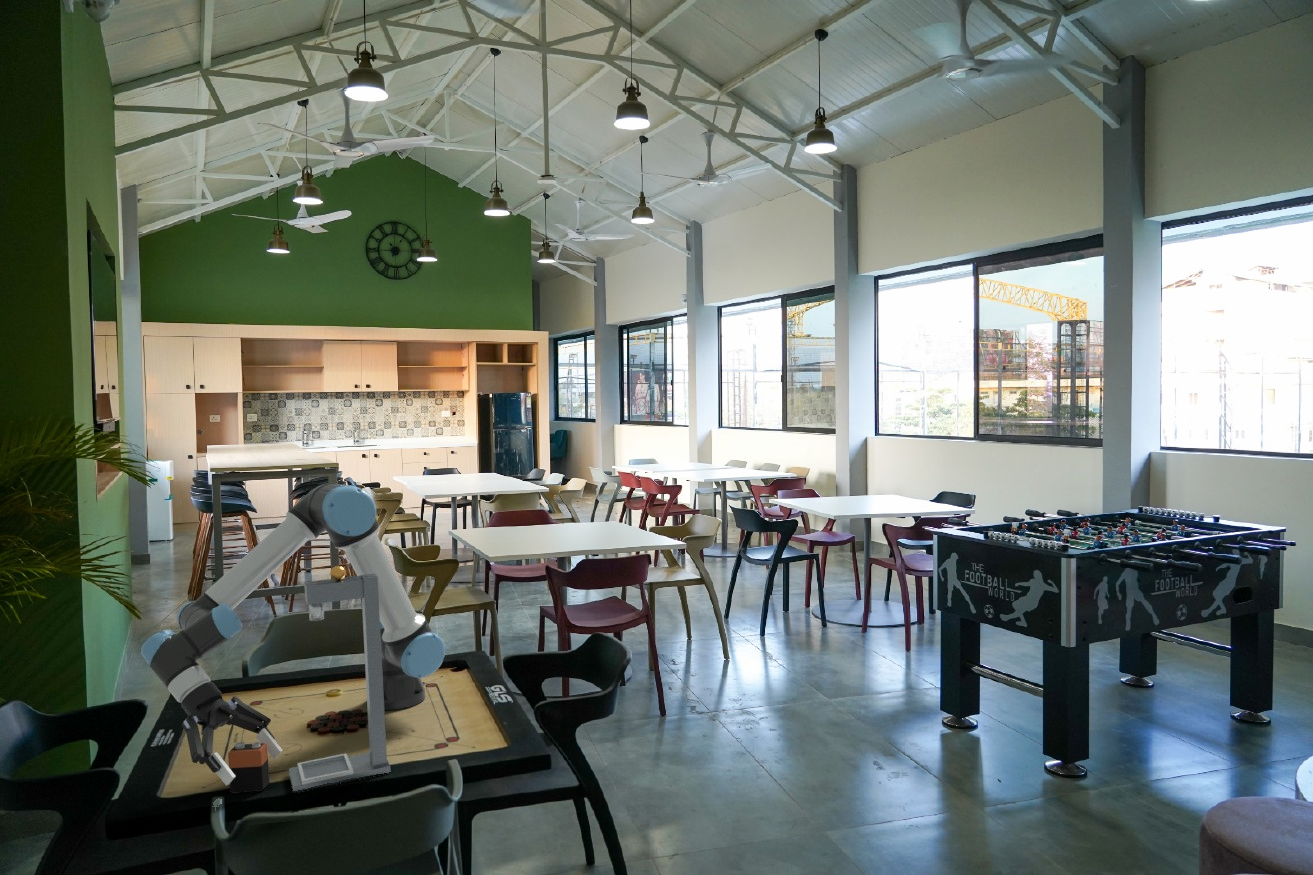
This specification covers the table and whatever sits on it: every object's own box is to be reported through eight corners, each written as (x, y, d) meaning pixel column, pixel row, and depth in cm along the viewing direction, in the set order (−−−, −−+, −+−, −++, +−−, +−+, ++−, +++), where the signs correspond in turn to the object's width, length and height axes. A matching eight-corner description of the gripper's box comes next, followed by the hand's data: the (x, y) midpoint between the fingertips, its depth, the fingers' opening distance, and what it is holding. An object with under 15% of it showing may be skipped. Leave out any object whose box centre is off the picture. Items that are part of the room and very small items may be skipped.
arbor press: (289, 775, 201) (277, 567, 198) (382, 756, 210) (372, 557, 207) (293, 793, 191) (281, 576, 189) (390, 772, 200) (380, 565, 198)
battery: (237, 785, 196) (235, 740, 196) (270, 783, 197) (267, 738, 196) (229, 794, 192) (226, 748, 191) (262, 792, 192) (260, 746, 192)
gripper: (230, 685, 210) (287, 755, 206) (137, 724, 187) (199, 804, 183) (247, 664, 208) (305, 734, 204) (156, 700, 184) (219, 781, 181)
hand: (255, 767), depth 193 cm, fingers open, 13 cm apart
